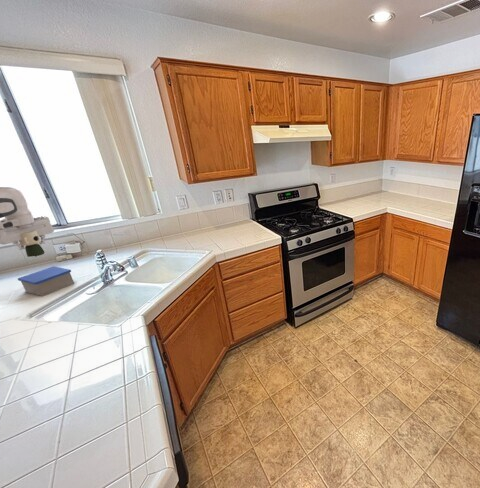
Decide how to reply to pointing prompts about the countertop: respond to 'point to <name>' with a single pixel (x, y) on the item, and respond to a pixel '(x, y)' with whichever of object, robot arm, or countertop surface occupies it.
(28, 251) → the character mug
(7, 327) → the countertop surface
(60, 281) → the storage tub
